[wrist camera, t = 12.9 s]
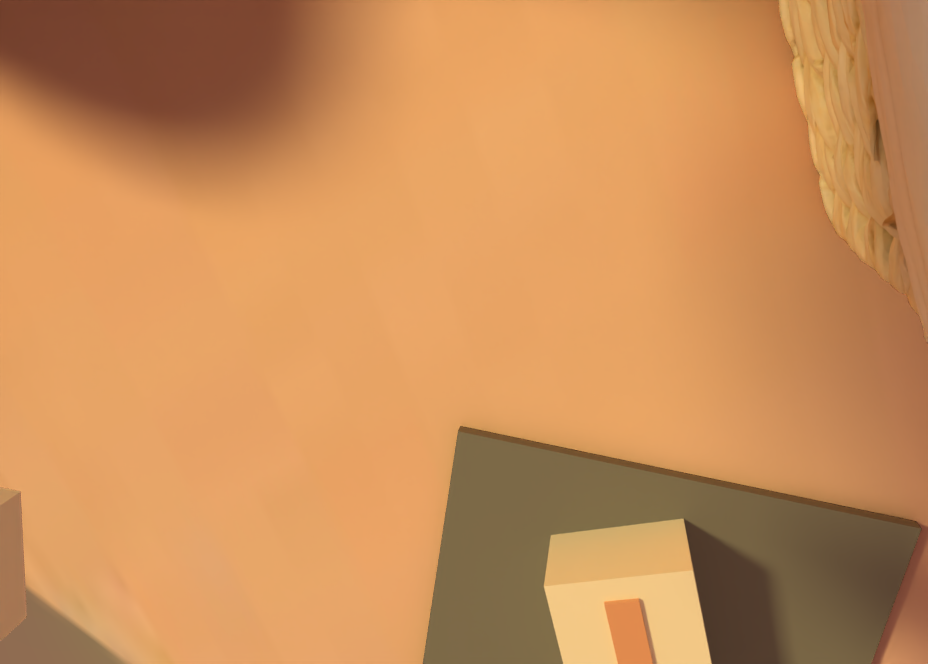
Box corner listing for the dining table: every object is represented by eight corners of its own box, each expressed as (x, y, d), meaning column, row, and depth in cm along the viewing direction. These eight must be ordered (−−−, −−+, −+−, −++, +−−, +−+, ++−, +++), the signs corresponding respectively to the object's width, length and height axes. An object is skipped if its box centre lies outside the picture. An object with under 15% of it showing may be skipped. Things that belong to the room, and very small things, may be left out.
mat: (416, 716, 40) (413, 724, 39) (460, 426, 35) (458, 431, 34) (806, 819, 37) (809, 830, 37) (916, 521, 32) (921, 528, 31)
